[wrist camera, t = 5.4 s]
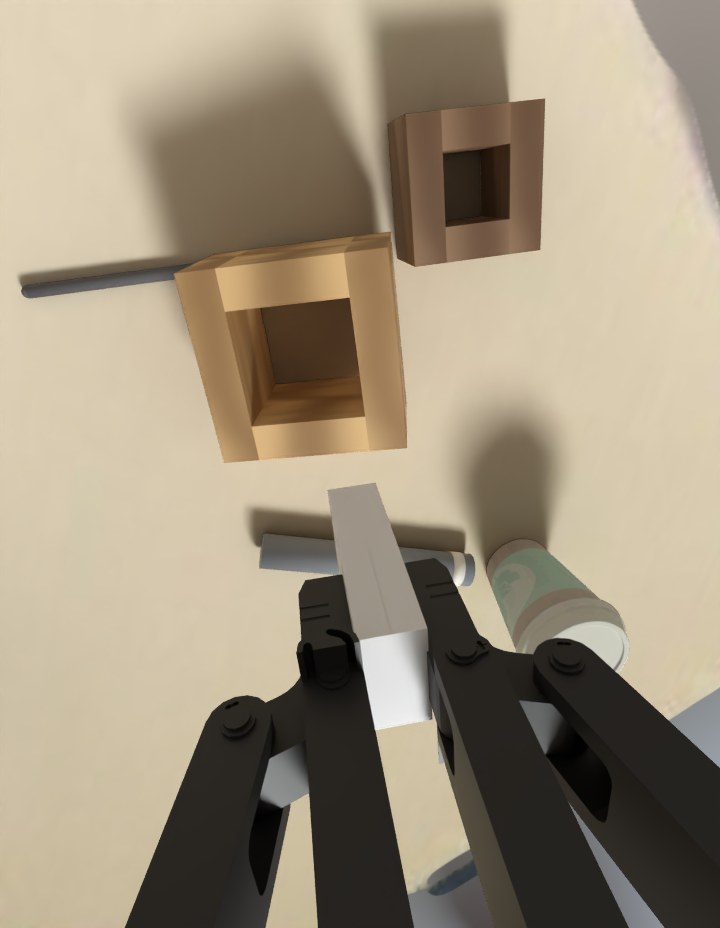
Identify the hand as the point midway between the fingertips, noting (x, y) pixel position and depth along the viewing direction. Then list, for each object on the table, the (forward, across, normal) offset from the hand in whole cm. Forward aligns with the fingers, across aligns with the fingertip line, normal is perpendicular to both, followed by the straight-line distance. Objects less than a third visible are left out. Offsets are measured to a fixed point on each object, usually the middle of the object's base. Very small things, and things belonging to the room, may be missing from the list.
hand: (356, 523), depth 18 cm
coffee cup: (+26, +16, -23) cm, 38 cm away
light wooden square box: (+24, 0, +1) cm, 24 cm away
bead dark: (+25, +11, +9) cm, 29 cm away
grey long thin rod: (+25, -9, +6) cm, 27 cm away
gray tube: (+24, -6, -16) cm, 29 cm away
